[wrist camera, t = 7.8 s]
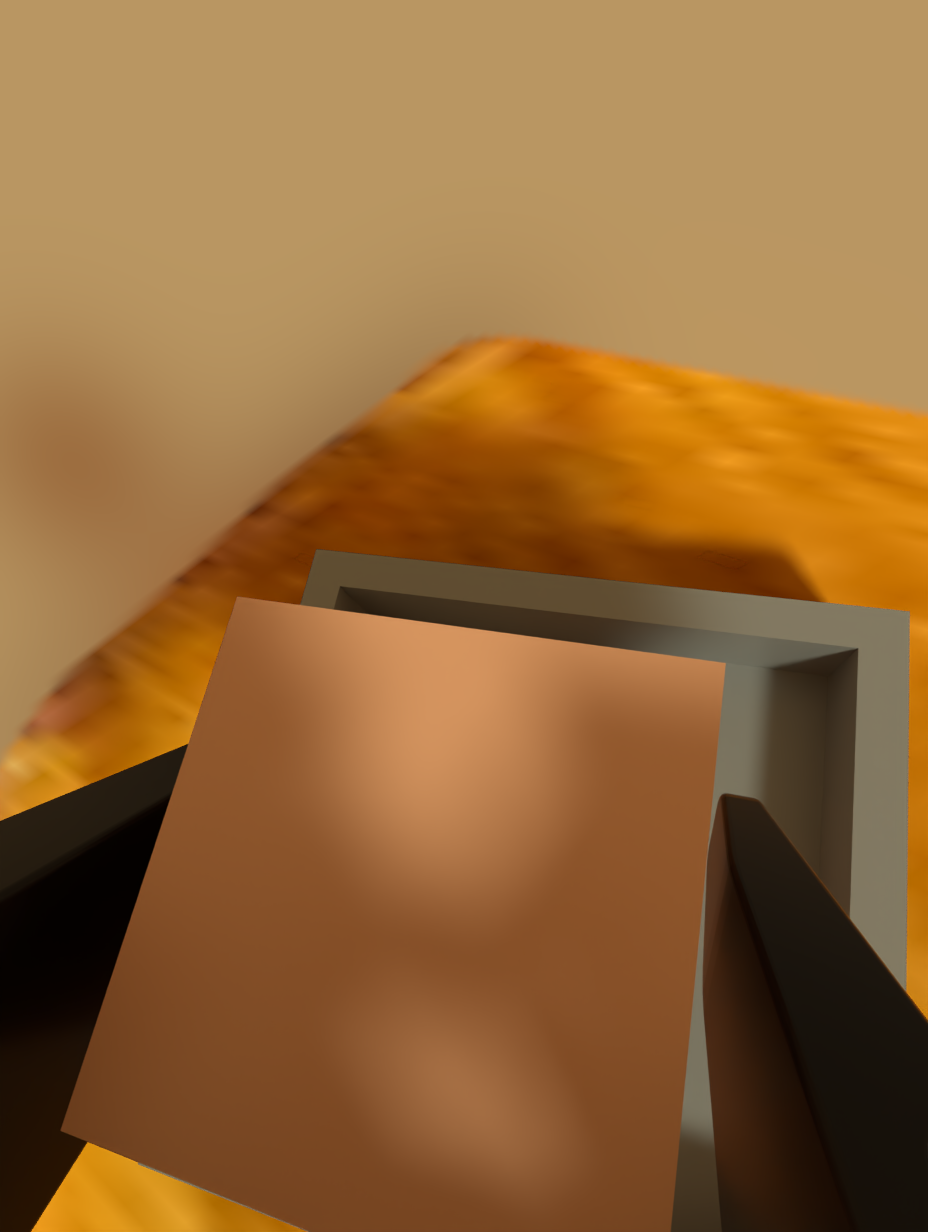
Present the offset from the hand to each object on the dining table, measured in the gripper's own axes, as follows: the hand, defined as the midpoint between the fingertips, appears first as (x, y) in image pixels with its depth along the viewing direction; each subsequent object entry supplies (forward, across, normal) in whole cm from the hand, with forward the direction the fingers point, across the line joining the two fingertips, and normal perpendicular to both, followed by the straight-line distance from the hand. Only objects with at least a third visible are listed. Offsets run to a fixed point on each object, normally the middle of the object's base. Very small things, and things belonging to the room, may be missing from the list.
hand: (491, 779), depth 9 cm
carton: (+5, 0, +7) cm, 8 cm away
